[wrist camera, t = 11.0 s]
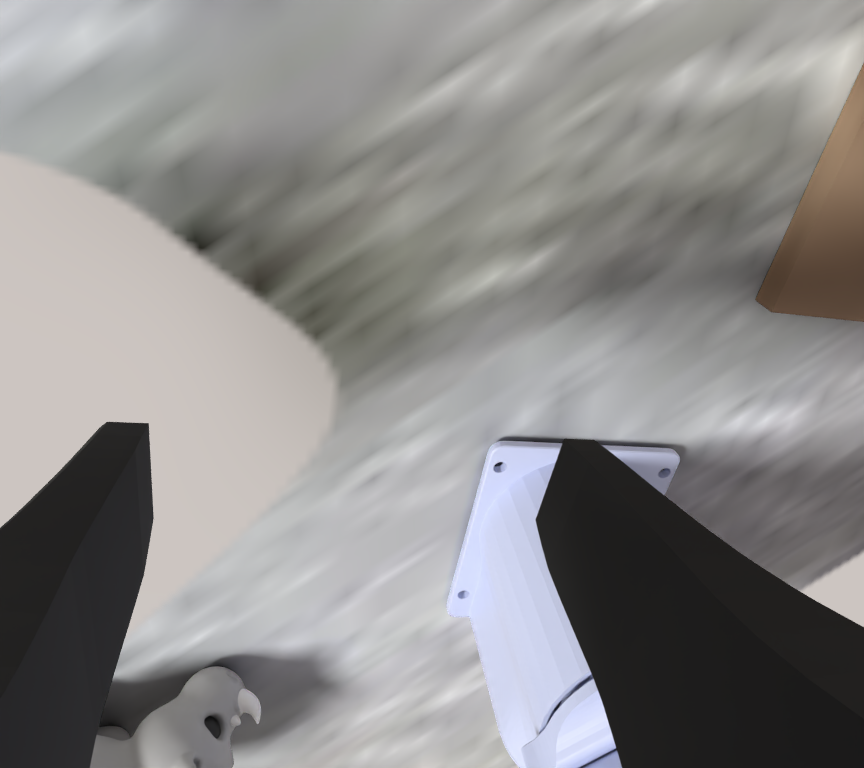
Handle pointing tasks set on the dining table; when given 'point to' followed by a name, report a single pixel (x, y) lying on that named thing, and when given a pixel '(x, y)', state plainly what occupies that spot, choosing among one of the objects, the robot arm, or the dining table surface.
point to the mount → (826, 230)
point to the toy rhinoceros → (183, 727)
